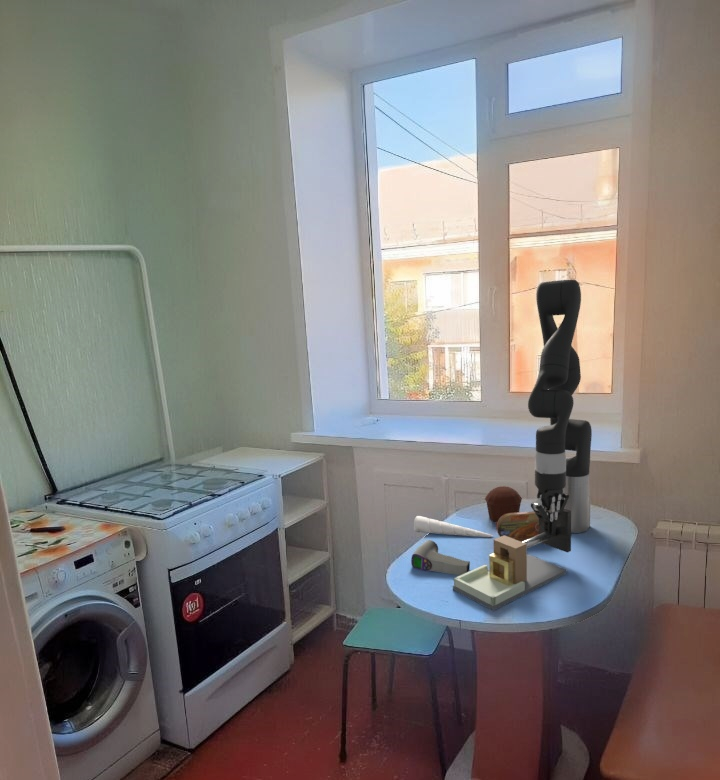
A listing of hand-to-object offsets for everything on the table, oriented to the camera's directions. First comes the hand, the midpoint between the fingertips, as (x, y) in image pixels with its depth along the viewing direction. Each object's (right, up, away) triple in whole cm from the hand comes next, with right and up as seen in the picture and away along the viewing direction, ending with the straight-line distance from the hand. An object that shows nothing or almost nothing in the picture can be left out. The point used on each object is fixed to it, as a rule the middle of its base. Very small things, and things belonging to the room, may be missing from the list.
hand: (549, 533), depth 154 cm
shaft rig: (-11, -11, -3) cm, 16 cm away
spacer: (-14, -10, -5) cm, 18 cm away
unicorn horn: (-21, -7, +28) cm, 36 cm away
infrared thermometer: (-26, -11, +9) cm, 29 cm away
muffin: (-3, -4, +37) cm, 38 cm away
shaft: (-4, -6, +1) cm, 7 cm away
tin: (-1, -7, +21) cm, 22 cm away
